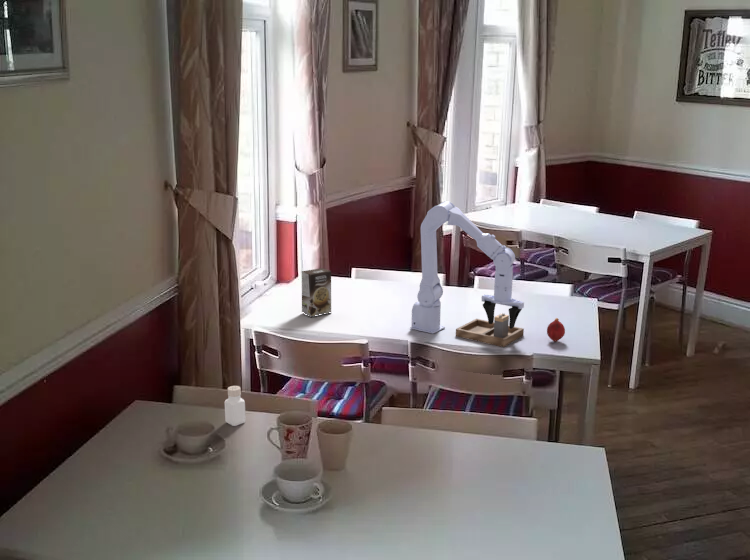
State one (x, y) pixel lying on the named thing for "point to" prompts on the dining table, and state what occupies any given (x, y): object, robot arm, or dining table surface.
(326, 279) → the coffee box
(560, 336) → the onion
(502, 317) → the battery cell
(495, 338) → the walnut tray
